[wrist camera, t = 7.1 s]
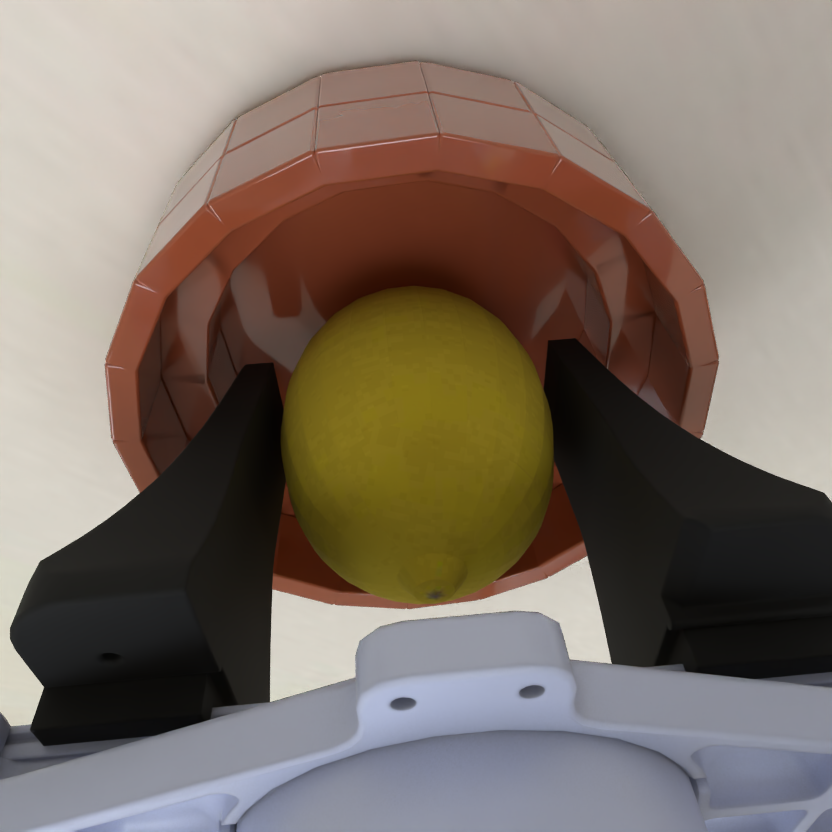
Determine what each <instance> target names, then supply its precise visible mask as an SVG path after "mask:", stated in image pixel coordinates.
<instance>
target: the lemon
mask: <svg viewBox="0 0 832 832" xmlns="http://www.w3.org/2000/svg"><path fill="white" fill-rule="evenodd" d="M281 455H282V461H283V467H284V472H285V477H286V482H287V487H288V492H289V496H290V500H291V504H292V507H293V510H294V513H295V516H296V519H297V521H298V523H299V525H300V526H301V528H302V530H303V532H304V534H305V536H306V537H307V539H308V541H309V542H310V544H311V546H312V547H313V549H314V551H315V552H316V553H317V554H318V555H319V557H320V558H321V559H322V560H323V561H324V562H325V563H326V564H327V565H328V566H329V567H330V568H331V569H333V570H334V571H335V572H336V573H337V574H338V575H339V576H341V577H342V578H343V579H345V580H346V581H347V582H349V583H351V584H353V585H354V586H356V587H358V588H360V589H362V590H364V591H366V592H368V593H370V594H373V595H375V596H378V597H381V598H384V599H388V600H391V601H395V602H403V603H412V604H436V603H441V602H446V601H451V600H455V599H458V598H461V597H463V596H466V595H469V594H472V593H475V592H477V591H478V590H480V589H482V588H484V587H486V586H487V585H489V584H491V583H492V582H494V581H495V580H496V579H498V578H499V577H500V576H501V575H503V574H504V573H505V572H506V571H507V570H509V569H510V568H511V567H512V566H513V565H514V564H516V562H517V561H518V560H519V559H520V558H521V556H522V555H523V554H524V553H525V551H526V550H527V548H528V547H529V546H530V544H531V543H532V542H533V540H534V539H535V537H536V535H537V533H538V531H539V529H540V527H541V525H542V522H543V519H544V516H545V513H546V510H547V507H548V504H549V500H550V497H551V493H552V486H553V477H554V445H553V425H552V418H551V412H550V408H549V404H548V400H547V398H546V395H545V392H544V390H543V387H542V384H541V382H540V379H539V376H538V374H537V371H536V369H535V366H534V364H533V362H532V360H531V358H530V356H529V355H528V353H527V352H526V350H525V349H524V348H523V346H522V345H521V344H520V342H519V341H518V340H517V339H516V338H515V336H514V335H513V334H512V333H511V331H510V330H509V329H508V328H507V327H506V325H505V324H504V323H503V322H502V321H501V320H500V319H499V318H497V317H496V316H494V315H493V314H491V313H490V312H489V311H487V310H486V309H484V308H483V307H481V306H480V305H478V304H477V303H475V302H474V301H472V300H471V299H468V298H466V297H463V296H460V295H458V294H455V293H452V292H449V291H447V290H444V289H438V288H429V287H420V286H407V287H398V288H389V289H385V290H382V291H379V292H376V293H373V294H370V295H367V296H364V297H361V298H359V299H357V300H356V301H354V302H352V303H351V304H349V305H348V306H346V307H345V308H343V309H341V310H340V311H338V312H337V313H335V314H334V315H333V316H332V317H331V318H330V319H329V320H328V321H327V322H326V323H325V324H324V325H323V326H322V328H321V329H320V330H319V331H318V332H317V333H316V334H315V335H314V336H313V337H312V338H311V339H310V341H309V343H308V344H307V346H306V348H305V350H304V352H303V354H302V356H301V358H300V359H299V361H298V363H297V365H296V367H295V369H294V371H293V374H292V376H291V378H290V381H289V385H288V388H287V392H286V398H285V405H284V412H283V418H282V425H281Z"/></svg>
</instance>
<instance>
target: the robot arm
mask: <svg viewBox="0 0 832 832" xmlns="http://www.w3.org/2000/svg"><path fill="white" fill-rule="evenodd" d="M543 390H544V392H545V395H546V398H547V400H548V404H549V408H550V412H551V418H552V425H553V445H554V461H555V464H556V466H557V469H558V472H559V475H560V477H561V480H562V483H563V485H564V488H565V490H566V493H567V496H568V498H569V501H570V504H571V506H572V509H573V512H574V514H575V517H576V520H577V522H578V525H579V528H580V531H581V534H582V537H583V540H584V544H585V548H586V552H587V556H588V560H589V564H590V568H591V572H592V576H593V580H594V584H595V588H596V593H597V597H598V601H599V606H600V610H601V614H602V619H603V624H604V628H605V633H606V638H607V643H608V647H609V652H610V657H611V662H612V664H608V663H598V662H589V661H579V660H570V659H569V656H568V652H567V648H566V644H565V640H564V637H563V633H562V630H561V627H560V624H559V623H558V622H556V621H554V620H553V619H551V618H549V617H547V616H545V615H543V614H541V613H539V612H526V611H508V612H496V613H485V614H474V615H463V616H452V617H441V618H430V619H419V620H408V621H401V622H397V623H392V624H388V625H384V626H380V627H379V628H377V629H376V630H374V631H373V632H371V633H370V634H369V635H367V636H366V637H364V638H363V639H362V640H360V642H359V645H358V649H357V652H356V655H355V661H356V677H355V678H352V679H348V680H345V681H342V682H338V683H335V684H331V685H328V686H324V687H321V688H317V689H314V690H311V691H307V692H304V693H300V694H297V695H293V696H290V697H286V698H283V699H280V700H276V701H273V702H270V642H271V607H272V584H273V566H274V557H275V549H276V542H277V536H278V530H279V523H280V517H281V510H282V504H283V498H284V491H285V484H286V477H285V472H284V467H283V461H282V455H281V425H282V418H283V412H284V409H283V405H282V400H281V396H280V391H279V386H278V382H277V377H276V373H275V368H274V364H273V362H270V363H258V364H246V365H245V366H244V367H243V368H242V369H241V371H240V372H239V374H238V375H237V377H236V379H235V380H234V382H233V383H232V385H231V387H230V388H229V390H228V391H227V393H226V394H225V396H224V397H223V399H222V400H221V402H220V403H219V405H218V406H217V407H216V409H215V410H214V412H213V413H212V414H211V416H210V417H209V418H208V420H207V421H206V423H205V424H204V425H203V427H202V428H201V429H200V431H199V432H198V433H197V434H196V435H195V437H194V438H193V439H192V440H191V442H190V443H189V444H188V445H187V446H186V448H185V449H184V450H183V451H182V452H181V454H180V455H179V456H178V457H177V458H176V459H175V460H174V461H173V462H172V463H171V465H170V466H169V467H168V468H167V469H166V470H165V471H164V472H163V473H162V474H161V475H160V476H159V477H158V478H157V479H156V480H155V481H154V482H152V483H151V484H150V485H149V486H148V487H147V488H145V489H144V490H143V491H142V492H141V493H140V494H138V495H137V496H136V497H135V498H134V499H132V500H131V501H130V502H129V503H128V504H127V505H125V506H124V507H123V508H122V509H120V510H119V511H118V512H116V513H115V514H114V515H112V516H111V517H110V518H108V519H107V520H106V521H104V522H103V523H101V524H100V525H98V526H97V527H95V528H94V529H93V530H91V531H90V532H88V533H87V534H85V535H84V536H82V537H80V538H79V539H77V540H76V541H74V542H72V543H71V544H69V545H67V546H66V547H64V548H62V549H61V550H59V551H57V552H56V553H54V554H52V555H51V556H49V557H47V558H45V559H43V560H42V561H40V563H39V565H38V567H37V568H36V570H35V572H34V574H33V576H32V578H31V580H30V581H29V584H28V586H27V588H26V591H25V593H24V595H23V598H22V600H21V603H20V605H19V608H18V610H17V613H16V615H15V617H14V620H13V622H12V625H11V627H10V640H11V642H12V644H13V646H14V648H15V650H16V651H17V653H18V654H19V655H20V656H21V658H22V659H23V660H24V662H25V663H26V664H27V666H28V667H29V668H30V669H31V671H32V672H33V673H34V675H35V676H36V677H37V678H38V680H39V681H40V682H41V684H42V685H43V686H44V690H43V692H42V695H41V698H40V701H39V704H38V707H37V710H36V713H35V716H34V719H33V722H32V724H31V725H21V726H10V725H9V723H8V721H7V720H6V718H5V717H4V716H3V715H2V713H1V712H0V832H832V502H831V501H830V500H829V498H828V497H827V496H826V495H825V493H823V492H820V491H817V490H815V489H812V488H809V487H806V486H803V485H800V484H797V483H794V482H792V481H789V480H786V479H783V478H780V477H778V476H775V475H773V474H770V473H768V472H766V471H763V470H761V469H759V468H756V467H754V466H752V465H749V464H747V463H745V462H743V461H741V460H739V459H737V458H734V457H732V456H730V455H728V454H727V453H725V452H723V451H721V450H719V449H717V448H715V447H713V446H711V445H710V444H708V443H706V442H704V441H703V440H701V439H699V438H697V437H696V436H694V435H692V434H691V433H689V432H688V431H686V430H685V429H683V428H681V427H680V426H678V425H677V424H675V423H674V422H672V421H671V420H669V419H668V418H666V417H665V416H664V415H662V414H661V413H659V412H658V411H657V410H656V409H654V408H653V407H652V406H650V405H649V404H648V403H646V402H645V401H644V400H643V399H641V398H640V397H639V396H638V395H636V394H635V393H634V392H633V391H632V390H630V389H629V388H628V387H627V386H626V385H625V384H624V383H622V382H621V381H620V380H619V379H618V378H617V377H616V376H615V375H614V374H612V373H611V372H610V371H609V370H608V369H607V368H606V367H605V366H604V365H603V364H602V363H601V362H600V361H599V360H598V359H597V358H596V357H595V356H594V355H592V354H591V353H590V352H589V351H588V350H587V349H586V348H585V347H584V346H583V345H582V344H581V343H580V342H579V341H578V340H577V339H576V338H572V339H559V340H548V348H547V358H546V369H545V379H544V389H543Z"/></svg>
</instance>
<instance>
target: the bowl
mask: <svg viewBox="0 0 832 832" xmlns="http://www.w3.org/2000/svg"><path fill="white" fill-rule="evenodd" d="M407 286H420V287H429V288H438V289H444V290H447V291H449V292H452V293H455V294H458V295H460V296H463V297H466V298H468V299H471V300H472V301H474V302H475V303H477V304H478V305H480V306H481V307H483V308H484V309H486V310H487V311H489V312H490V313H491V314H493V315H494V316H496V317H497V318H499V319H500V320H501V321H502V322H503V323H504V324H505V325H506V327H507V328H508V329H509V330H510V331H511V333H512V334H513V335H514V336H515V338H516V339H517V340H518V341H519V342H520V344H521V345H522V346H523V348H524V349H525V350H526V352H527V353H528V355H529V356H530V358H531V360H532V362H533V364H534V366H535V369H536V371H537V374H538V376H539V379H540V382H541V384H542V387H543V389H544V379H545V369H546V358H547V348H548V340H559V339H572V338H576V339H577V340H578V341H579V342H580V343H581V344H582V345H583V346H584V347H585V348H586V349H587V350H588V351H589V352H590V353H591V354H592V355H594V356H595V357H596V358H597V359H598V360H599V361H600V362H601V363H602V364H603V365H604V366H605V367H606V368H607V369H608V370H609V371H610V372H611V373H612V374H614V375H615V376H616V377H617V378H618V379H619V380H620V381H621V382H622V383H624V384H625V385H626V386H627V387H628V388H629V389H630V390H632V391H633V392H634V393H635V394H636V395H638V396H639V397H640V398H641V399H643V400H644V401H645V402H646V403H648V404H649V405H650V406H652V407H653V408H654V409H656V410H657V411H658V412H659V413H661V414H662V415H664V416H665V417H666V418H668V419H669V420H671V421H672V422H674V423H675V424H677V425H678V426H680V427H681V428H683V429H685V430H686V431H688V432H689V433H691V434H692V435H694V436H696V437H697V438H699V439H700V438H701V437H702V435H703V431H704V429H705V424H706V419H707V415H708V410H709V406H710V401H711V397H712V392H713V387H714V383H715V378H716V374H717V369H718V365H719V361H718V359H719V354H718V349H717V344H716V339H715V334H714V329H713V323H712V318H711V313H710V308H709V303H708V298H707V293H706V288H705V284H704V281H703V279H702V278H701V276H700V275H699V274H698V272H697V271H696V269H695V268H694V267H693V265H692V264H691V263H690V261H689V260H688V258H687V257H686V256H685V254H684V253H683V252H682V250H681V249H680V247H679V246H678V245H677V243H676V242H675V240H674V239H673V238H672V236H671V235H670V234H669V232H668V231H667V229H666V228H665V227H664V225H663V224H662V223H661V221H660V220H659V218H658V217H657V216H656V214H655V213H654V212H653V210H652V209H651V208H650V206H649V205H648V204H647V202H646V201H645V200H644V198H643V197H642V196H641V195H640V193H639V192H638V191H637V189H636V188H635V187H634V185H633V184H632V183H631V182H630V180H629V179H628V178H627V176H626V175H625V174H624V172H623V171H622V170H621V168H620V167H619V166H618V165H617V163H616V162H615V161H614V159H613V158H612V157H611V156H610V154H609V153H608V152H607V150H606V149H605V148H604V146H603V145H602V144H601V142H600V141H599V140H598V139H597V137H596V136H595V135H594V133H593V132H592V131H591V130H589V128H588V127H587V126H586V125H584V124H583V123H581V122H579V121H578V120H576V119H575V118H573V117H572V116H570V115H568V114H567V113H565V112H564V111H562V110H560V109H559V108H557V107H556V106H554V105H553V104H551V103H549V102H548V101H546V100H545V99H543V98H541V97H540V96H538V95H537V94H535V93H534V92H532V91H530V90H529V89H527V88H526V87H524V86H522V85H521V84H519V83H518V82H512V81H511V80H509V79H504V78H499V77H495V76H490V75H485V74H480V73H475V72H471V71H466V70H461V69H456V68H451V67H447V66H442V65H437V64H432V63H427V62H421V63H419V61H410V62H403V63H396V64H388V65H381V66H374V67H366V68H359V69H352V70H345V71H337V72H330V73H323V74H322V75H321V77H320V76H317V77H314V78H313V79H311V80H309V81H307V82H305V83H303V84H301V85H299V86H297V87H295V88H293V89H291V90H289V91H288V92H286V93H284V94H282V95H280V96H278V97H276V98H274V99H272V100H270V101H268V102H266V103H265V104H263V105H261V106H259V107H257V108H255V109H253V110H251V111H249V112H247V113H245V114H243V115H242V116H240V117H238V119H237V120H236V119H235V120H233V121H232V122H231V124H230V125H229V126H228V127H227V128H226V129H225V130H224V131H223V133H222V134H221V135H220V136H219V137H218V138H217V139H216V140H215V141H214V143H213V144H212V145H211V146H210V147H209V148H208V149H207V150H206V152H205V153H204V154H203V155H202V156H201V157H200V158H199V159H198V160H197V162H196V163H195V164H194V165H193V166H192V167H191V168H190V169H189V170H188V172H187V173H186V174H185V175H184V176H183V177H182V178H181V179H180V181H179V182H178V184H177V185H176V187H175V189H174V191H173V193H172V196H171V198H170V200H169V202H168V205H167V207H166V209H165V211H164V213H163V216H162V218H161V220H160V222H159V224H158V227H157V229H156V231H155V234H154V236H153V238H152V240H151V242H150V245H149V247H148V249H147V251H146V254H145V256H144V258H143V260H142V262H141V265H140V267H139V269H138V271H137V274H136V276H135V278H134V280H133V283H132V285H131V288H130V291H129V294H128V297H127V299H126V302H125V305H124V308H123V310H122V313H121V316H120V319H119V322H118V324H117V327H116V330H115V333H114V336H113V338H112V341H111V344H110V347H109V350H108V352H107V355H106V358H105V360H106V363H105V375H106V386H107V397H108V408H109V420H110V431H111V438H112V439H113V444H114V446H115V448H116V450H117V451H118V453H119V455H120V457H121V459H122V461H123V463H124V464H125V466H126V468H127V470H128V472H129V474H130V476H131V477H132V479H133V481H134V483H135V485H136V487H137V489H138V491H139V492H140V493H141V492H142V491H143V490H144V489H145V488H147V487H148V486H149V485H150V484H151V483H152V482H154V481H155V480H156V479H157V478H158V477H159V476H160V475H161V474H162V473H163V472H164V471H165V470H166V469H167V468H168V467H169V466H170V465H171V463H172V462H173V461H174V460H175V459H176V458H177V457H178V456H179V455H180V454H181V452H182V451H183V450H184V449H185V448H186V446H187V445H188V444H189V443H190V442H191V440H192V439H193V438H194V437H195V435H196V434H197V433H198V432H199V431H200V429H201V428H202V427H203V425H204V424H205V423H206V421H207V420H208V418H209V417H210V416H211V414H212V413H213V412H214V410H215V409H216V407H217V406H218V405H219V403H220V402H221V400H222V399H223V397H224V396H225V394H226V393H227V391H228V390H229V388H230V387H231V385H232V383H233V382H234V380H235V379H236V377H237V375H238V374H239V372H240V371H241V369H242V368H243V367H244V366H245V365H246V364H258V363H270V362H273V364H274V368H275V373H276V377H277V382H278V386H279V391H280V396H281V400H282V405H283V409H284V405H285V398H286V392H287V388H288V385H289V381H290V378H291V376H292V374H293V371H294V369H295V367H296V365H297V363H298V361H299V359H300V358H301V356H302V354H303V352H304V350H305V348H306V346H307V344H308V343H309V341H310V339H311V338H312V337H313V336H314V335H315V334H316V333H317V332H318V331H319V330H320V329H321V328H322V326H323V325H324V324H325V323H326V322H327V321H328V320H329V319H330V318H331V317H332V316H333V315H334V314H335V313H337V312H338V311H340V310H341V309H343V308H345V307H346V306H348V305H349V304H351V303H352V302H354V301H356V300H357V299H359V298H361V297H364V296H367V295H370V294H373V293H376V292H379V291H382V290H385V289H389V288H398V287H407ZM586 556H587V552H586V548H585V544H584V540H583V537H582V534H581V531H580V528H579V525H578V522H577V520H576V517H575V514H574V512H573V509H572V506H571V504H570V501H569V498H568V496H567V493H566V490H565V488H564V485H563V483H562V480H561V477H560V475H559V472H558V469H557V466H556V464H555V461H554V477H553V486H552V493H551V497H550V500H549V504H548V507H547V510H546V513H545V516H544V519H543V522H542V525H541V527H540V529H539V531H538V533H537V535H536V537H535V539H534V540H533V542H532V543H531V544H530V546H529V547H528V548H527V550H526V551H525V553H524V554H523V555H522V556H521V558H520V559H519V560H518V561H517V562H516V564H514V565H513V566H512V567H511V568H510V569H509V570H507V571H506V572H505V573H504V574H503V575H501V576H500V577H499V578H498V579H496V580H495V581H494V582H492V583H491V584H489V585H487V586H486V587H484V588H482V589H480V590H478V591H477V592H475V593H472V594H469V595H466V596H463V597H461V598H458V599H455V600H451V601H446V602H441V603H436V604H412V603H403V602H395V601H391V600H388V599H384V598H381V597H378V596H375V595H373V594H370V593H368V592H366V591H364V590H362V589H360V588H358V587H356V586H354V585H353V584H351V583H349V582H347V581H346V580H345V579H343V578H342V577H341V576H339V575H338V574H337V573H336V572H335V571H334V570H333V569H331V568H330V567H329V566H328V565H327V564H326V563H325V562H324V561H323V560H322V559H321V558H320V557H319V555H318V554H317V553H316V552H315V551H314V549H313V547H312V546H311V544H310V542H309V541H308V539H307V537H306V536H305V534H304V532H303V530H302V528H301V526H300V525H299V523H298V521H297V519H296V516H295V513H294V510H293V507H292V504H291V500H290V496H289V492H288V487H287V482H286V484H285V491H284V498H283V504H282V510H281V517H280V523H279V530H278V536H277V542H276V549H275V557H274V566H273V584H272V589H273V590H277V591H281V592H285V593H289V594H293V595H297V596H300V597H304V598H308V599H312V600H316V601H320V602H324V603H328V604H331V605H333V604H335V605H342V606H360V607H377V608H395V609H406V608H407V609H413V608H421V607H429V606H437V605H445V604H452V603H460V602H468V601H476V600H478V599H480V600H481V599H484V598H487V597H490V596H494V595H497V594H500V593H503V592H506V591H509V590H512V589H515V588H518V587H522V586H525V585H528V584H531V583H534V582H537V581H540V580H543V579H546V578H548V576H552V575H554V574H556V573H557V572H559V571H561V570H563V569H565V568H566V567H568V566H570V565H572V564H573V563H575V562H577V561H579V560H581V559H582V558H584V557H586Z"/></svg>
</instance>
